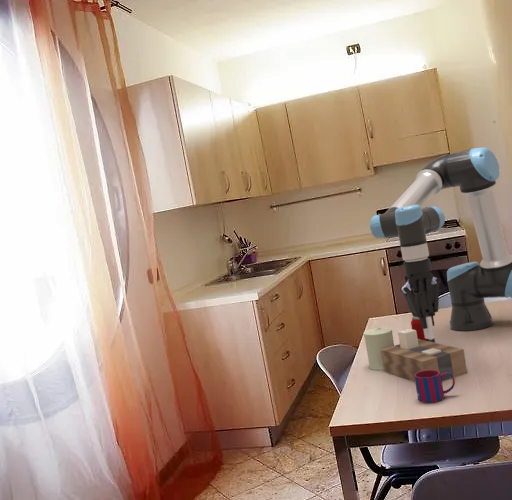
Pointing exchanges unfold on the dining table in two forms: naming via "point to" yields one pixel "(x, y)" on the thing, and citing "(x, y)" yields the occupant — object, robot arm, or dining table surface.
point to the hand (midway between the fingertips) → (429, 338)
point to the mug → (431, 385)
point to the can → (377, 345)
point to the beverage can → (419, 329)
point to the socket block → (423, 360)
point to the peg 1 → (408, 339)
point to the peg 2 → (431, 351)
